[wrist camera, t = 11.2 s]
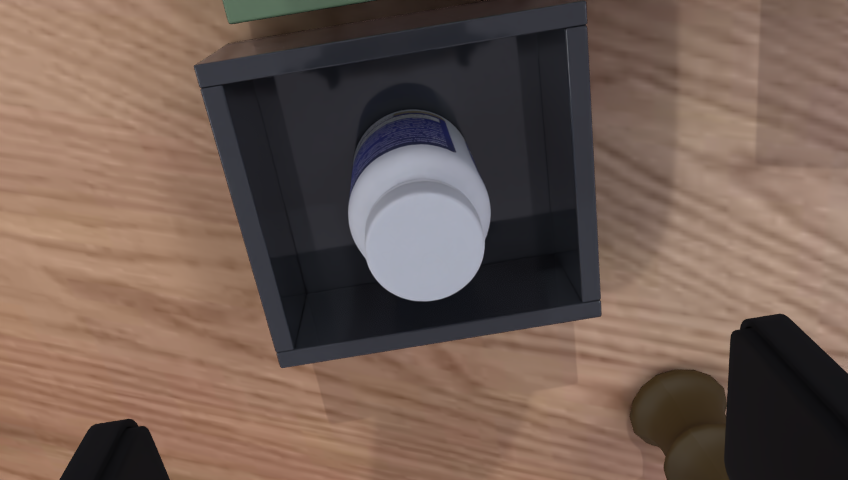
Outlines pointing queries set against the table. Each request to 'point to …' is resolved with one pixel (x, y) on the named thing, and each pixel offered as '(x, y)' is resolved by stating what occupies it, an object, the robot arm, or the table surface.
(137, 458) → the robot arm
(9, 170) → the table surface
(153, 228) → the table surface
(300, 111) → the dark grey open bin
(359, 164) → the pill bottle
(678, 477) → the kendama
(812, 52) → the table surface
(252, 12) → the rack
